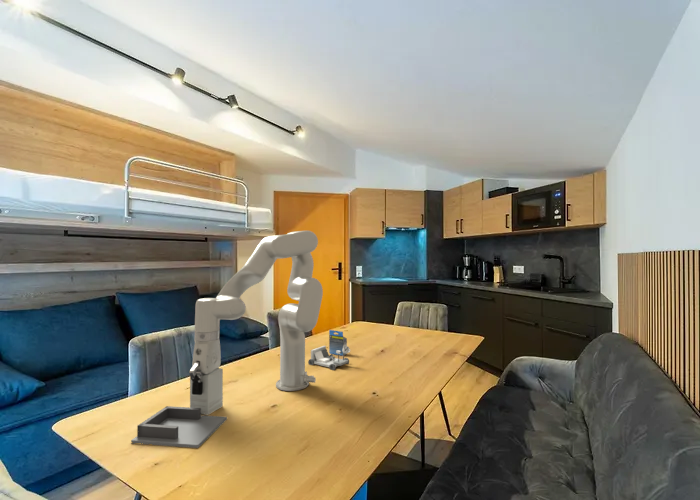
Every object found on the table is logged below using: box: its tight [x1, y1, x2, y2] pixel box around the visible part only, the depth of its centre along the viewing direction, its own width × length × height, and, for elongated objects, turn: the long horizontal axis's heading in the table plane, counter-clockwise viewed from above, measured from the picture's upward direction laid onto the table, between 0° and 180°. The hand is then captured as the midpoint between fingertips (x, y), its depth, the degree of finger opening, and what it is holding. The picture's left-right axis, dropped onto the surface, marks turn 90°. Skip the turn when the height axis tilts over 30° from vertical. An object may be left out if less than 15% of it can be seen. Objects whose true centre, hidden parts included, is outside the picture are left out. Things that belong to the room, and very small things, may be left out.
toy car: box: [307, 345, 351, 371], centre depth 160 cm, size 18×10×12 cm
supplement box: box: [189, 367, 224, 416], centre depth 113 cm, size 7×7×13 cm
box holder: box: [130, 405, 228, 449], centre depth 99 cm, size 19×16×4 cm
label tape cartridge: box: [328, 329, 348, 357], centre depth 178 cm, size 9×4×12 cm, turn 58°
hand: (205, 388), depth 113 cm, fingers open, 9 cm apart
